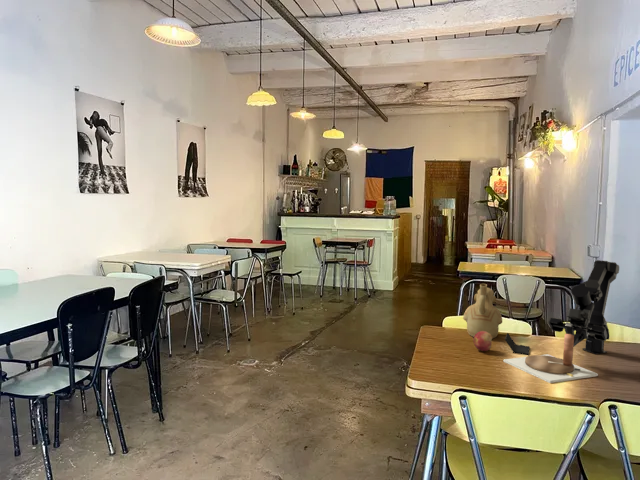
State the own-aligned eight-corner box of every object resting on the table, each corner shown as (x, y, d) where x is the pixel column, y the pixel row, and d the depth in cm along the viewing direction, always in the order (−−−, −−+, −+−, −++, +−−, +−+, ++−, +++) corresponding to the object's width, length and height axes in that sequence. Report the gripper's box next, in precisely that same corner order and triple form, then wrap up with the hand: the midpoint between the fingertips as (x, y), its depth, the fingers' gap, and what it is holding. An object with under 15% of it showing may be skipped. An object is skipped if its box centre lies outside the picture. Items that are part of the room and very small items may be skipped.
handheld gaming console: (534, 352, 182) (518, 330, 184) (518, 361, 183) (503, 340, 186) (530, 348, 193) (515, 327, 195) (515, 356, 194) (501, 336, 197)
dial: (526, 369, 163) (528, 336, 162) (524, 355, 178) (525, 325, 177) (577, 376, 158) (579, 341, 157) (570, 361, 172) (572, 330, 172)
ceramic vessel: (502, 332, 215) (505, 280, 213) (500, 343, 198) (502, 286, 196) (465, 327, 222) (467, 276, 220) (459, 338, 205) (461, 282, 203)
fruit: (486, 355, 182) (487, 335, 181) (469, 350, 187) (469, 331, 187) (496, 351, 187) (497, 332, 186) (478, 346, 193) (479, 328, 192)
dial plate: (547, 356, 182) (547, 352, 182) (597, 375, 161) (598, 372, 161) (503, 361, 175) (503, 358, 174) (549, 383, 154) (550, 379, 154)
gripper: (551, 296, 176) (538, 329, 169) (607, 304, 162) (595, 340, 156) (557, 313, 182) (545, 346, 175) (611, 322, 168) (600, 358, 162)
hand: (570, 347), depth 167 cm, fingers closed
